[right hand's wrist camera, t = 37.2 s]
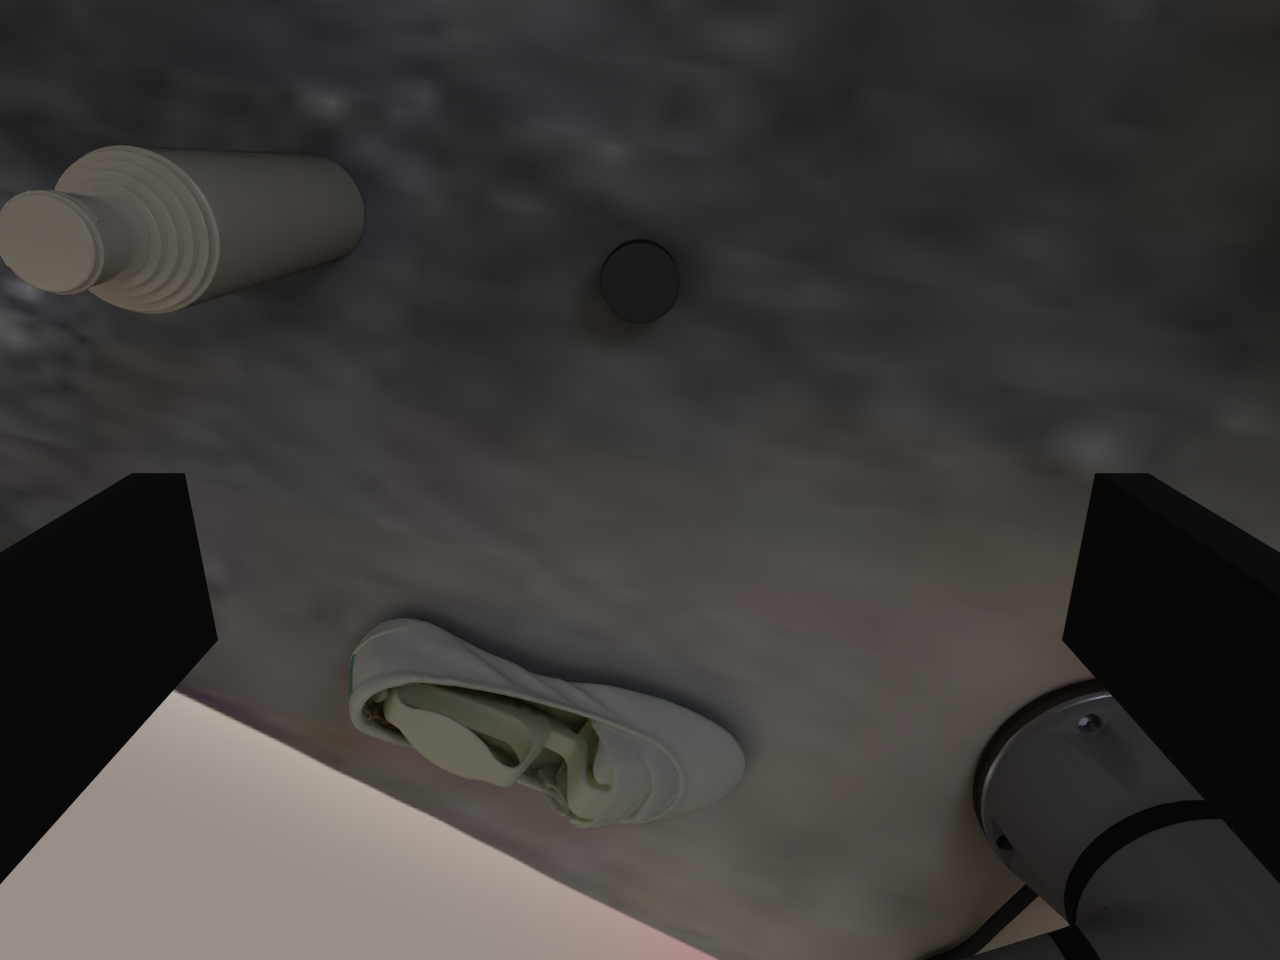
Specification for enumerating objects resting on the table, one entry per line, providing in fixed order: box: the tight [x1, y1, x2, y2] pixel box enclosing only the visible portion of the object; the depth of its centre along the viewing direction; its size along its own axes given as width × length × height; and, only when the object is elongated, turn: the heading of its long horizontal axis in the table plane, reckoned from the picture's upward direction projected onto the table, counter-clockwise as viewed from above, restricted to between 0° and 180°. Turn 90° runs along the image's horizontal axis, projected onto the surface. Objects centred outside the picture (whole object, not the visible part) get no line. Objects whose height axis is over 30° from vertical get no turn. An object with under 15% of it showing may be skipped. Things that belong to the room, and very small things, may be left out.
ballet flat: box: [349, 618, 746, 829], centre depth 48 cm, size 8×24×8 cm, turn 66°
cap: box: [601, 239, 679, 323], centre depth 42 cm, size 4×4×2 cm
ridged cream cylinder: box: [0, 145, 365, 314], centre depth 33 cm, size 5×5×20 cm
